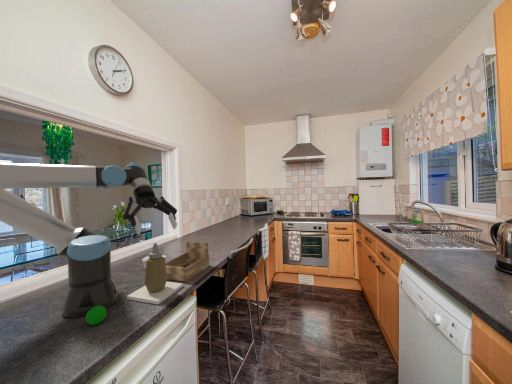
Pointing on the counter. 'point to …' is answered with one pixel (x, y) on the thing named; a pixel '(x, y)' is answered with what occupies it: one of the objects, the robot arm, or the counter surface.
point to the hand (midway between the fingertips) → (158, 229)
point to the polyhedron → (96, 315)
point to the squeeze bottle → (155, 271)
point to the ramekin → (147, 259)
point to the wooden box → (188, 262)
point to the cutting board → (155, 293)
